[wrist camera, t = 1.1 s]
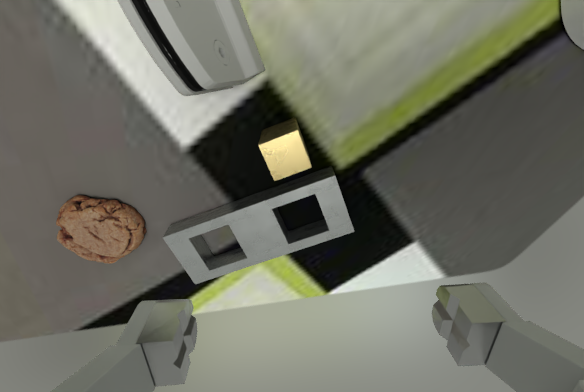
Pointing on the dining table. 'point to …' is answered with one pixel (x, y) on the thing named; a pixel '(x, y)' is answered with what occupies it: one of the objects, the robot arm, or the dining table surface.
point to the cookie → (99, 228)
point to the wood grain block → (284, 149)
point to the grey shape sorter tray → (259, 227)
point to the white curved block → (196, 42)
